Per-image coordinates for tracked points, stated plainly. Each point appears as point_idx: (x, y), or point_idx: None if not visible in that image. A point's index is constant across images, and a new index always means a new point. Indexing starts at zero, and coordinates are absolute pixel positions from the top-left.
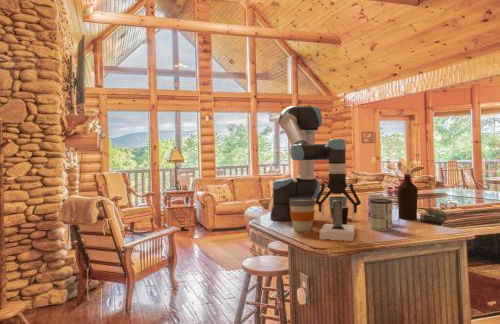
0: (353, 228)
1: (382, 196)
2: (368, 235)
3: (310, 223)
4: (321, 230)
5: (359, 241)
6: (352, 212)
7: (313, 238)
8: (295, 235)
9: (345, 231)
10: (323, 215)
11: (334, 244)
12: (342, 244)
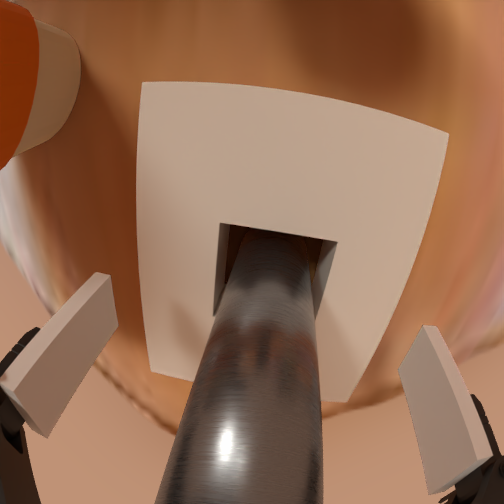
0: (399, 294)
1: None
2: (475, 231)
3: (40, 112)
4: (156, 356)
5: (372, 369)
6: (419, 435)
7: (132, 322)
8: (41, 257)
9: None
10: (93, 311)
11: None
12: None
